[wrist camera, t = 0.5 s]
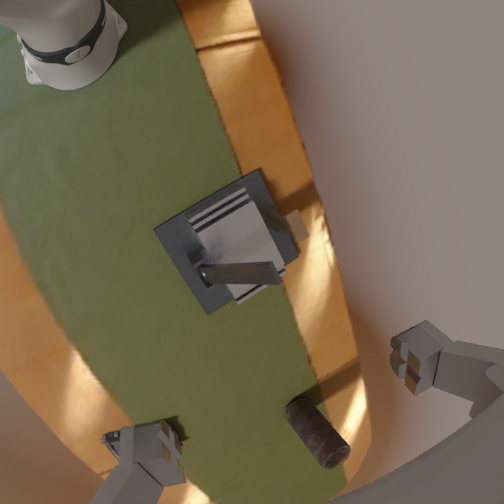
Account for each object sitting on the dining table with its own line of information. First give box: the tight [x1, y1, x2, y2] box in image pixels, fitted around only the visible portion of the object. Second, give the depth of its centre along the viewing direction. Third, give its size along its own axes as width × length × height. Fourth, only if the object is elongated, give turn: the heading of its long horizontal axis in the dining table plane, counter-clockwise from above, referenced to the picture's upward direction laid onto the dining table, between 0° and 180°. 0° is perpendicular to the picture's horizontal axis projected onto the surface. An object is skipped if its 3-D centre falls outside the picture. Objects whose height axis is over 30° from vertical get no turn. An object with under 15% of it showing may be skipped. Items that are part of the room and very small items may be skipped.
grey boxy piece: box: [153, 170, 309, 315], centre depth 52 cm, size 18×20×10 cm
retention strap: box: [197, 261, 282, 285], centre depth 44 cm, size 15×3×1 cm
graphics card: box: [101, 422, 183, 461], centre depth 59 cm, size 17×4×12 cm
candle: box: [284, 398, 351, 470], centre depth 62 cm, size 8×7×20 cm
